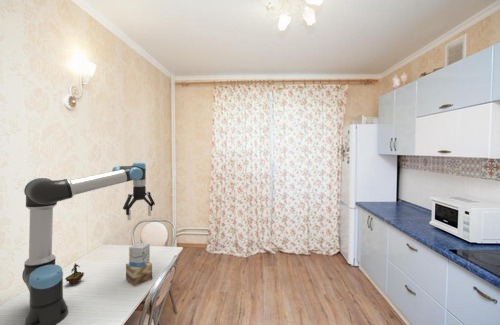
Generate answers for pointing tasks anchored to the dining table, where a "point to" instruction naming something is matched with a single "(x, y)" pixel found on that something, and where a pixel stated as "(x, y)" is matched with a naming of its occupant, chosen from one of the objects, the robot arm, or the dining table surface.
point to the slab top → (138, 270)
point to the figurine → (74, 275)
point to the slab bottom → (138, 279)
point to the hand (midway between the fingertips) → (139, 217)
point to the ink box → (139, 254)
